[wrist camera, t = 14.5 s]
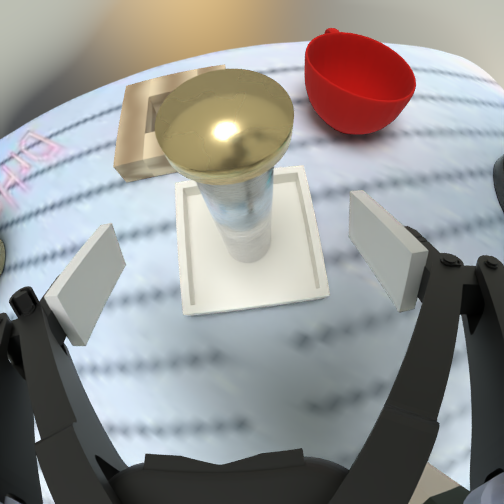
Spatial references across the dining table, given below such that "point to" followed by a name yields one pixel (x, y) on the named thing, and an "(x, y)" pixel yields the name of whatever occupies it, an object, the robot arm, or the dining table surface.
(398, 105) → the ceramic cup
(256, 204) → the pin
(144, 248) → the dining table surface
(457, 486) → the wine bottle
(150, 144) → the socket block
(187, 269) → the tray
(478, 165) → the dining table surface
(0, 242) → the plant pot
